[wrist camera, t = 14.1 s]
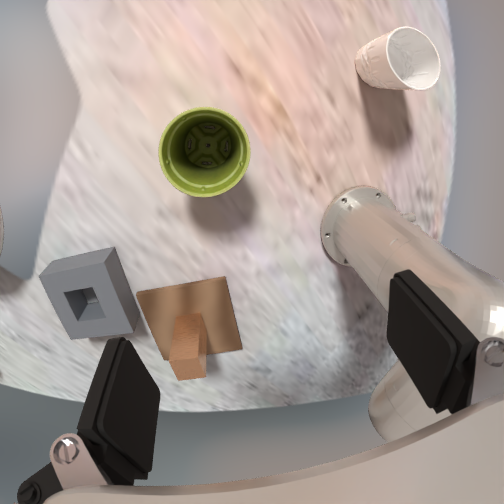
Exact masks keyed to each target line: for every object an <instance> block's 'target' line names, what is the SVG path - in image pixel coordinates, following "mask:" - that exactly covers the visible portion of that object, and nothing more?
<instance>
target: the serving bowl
mask: <svg viewBox="0 0 504 504" xmlns="http://www.w3.org/2000/svg"><path fill="white" fill-rule="evenodd" d="M3 237H4V226H3V217H2V212H1V207H0V255H1V251H2V247H3Z"/></svg>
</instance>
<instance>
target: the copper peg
mask: <svg viewBox="0 0 504 504" xmlns="http://www.w3.org/2000/svg"><path fill="white" fill-rule="evenodd" d="M206 345H207V331H206V328H205V325H204V322H203V319H202V316H201V312H200V313H194V314H188V315H182V316H176V319H175V325H174V331H173V338H172V344H171V350H170V357H169V363H170V365H171V367H172V369H173V371H174V373H175V375H176V377H177V379H178V381H180V380H188V379H196V378H204V377H206Z"/></svg>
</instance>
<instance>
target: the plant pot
mask: <svg viewBox="0 0 504 504" xmlns="http://www.w3.org/2000/svg"><path fill="white" fill-rule="evenodd" d="M205 126H214V127H215V129H211V128H206V129H205V128H204V127H205ZM190 139H192V142H191V149H189V148H188V142H189V140H190ZM226 141H227V142H228V150H227V151H226V152H225V151H224V150H225V145H226ZM206 144H210V147H206ZM202 161H203V162H212V164H210V165H205V164H203V163H202ZM249 161H250V143H249V139H248V136H247V133H246V131H245V129H244V128H243V126H242V125H241V124H240V122H239V121H238V120H237V119H236V118H235V117H233V116H232V115H230V114H229V113H227V112H225V111H223V110H220V109H217V108H212V107H198V108H193V109H190V110H187V111H185V112H183V113H181V114H179V115H178V116H177V117H175V118H174V119H173V120H172V121H171V122H170V123H169V124H168V125H167V127H166V128H165V130H164V132H163V134H162V136H161V139H160V143H159V162H160V166H161V168H162V171H163V173H164V175H165V177H166V178H167V179H168V181H169V182H170V183H171V184H172V185H173V186H174V187H175V188H176V189H178V190H179V191H181V192H183V193H185V194H188V195H190V196H195V197H212V196H216V195H219V194H222V193H224V192H226V191H228V190H229V189H231V188H232V187H234V186H235V185H236V184H237V183H238V182H239V181H240V180H241V178H242V177H243V176H244V174H245V172H246V170H247V167H248V164H249Z"/></svg>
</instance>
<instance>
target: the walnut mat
mask: <svg viewBox="0 0 504 504" xmlns="http://www.w3.org/2000/svg"><path fill="white" fill-rule="evenodd" d="M136 297H137V299H138V302H139V304H140V307H141V309H142V311H143V314H144V316H145V319H146V321H147V323H148V326H149V328H150V330H151V333H152V335H153V337H154V339H155V342H156V344H157V346H158V348H159V350H160V352H161V355H162V357H163V359H164V360H169V357H170V350H171V344H172V338H173V331H174V325H175V319H176V316H182V315H188V314H194V313H200V312H201V316H202V319H203V322H204V325H205V328H206V331H207V345H206V355H208V354H215V353H221V352H227V351H233V350H239V349H242V344H241V340H240V336H239V332H238V328H237V324H236V320H235V315H234V311H233V307H232V303H231V299H230V295H229V290H228V286H227V282H226V277H225V276H224V277H218V278H213V279H207V280H202V281H196V282H191V283H185V284H179V285H174V286H168V287H162V288H157V289H151V290H145V291H139V292H137V294H136Z"/></svg>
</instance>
